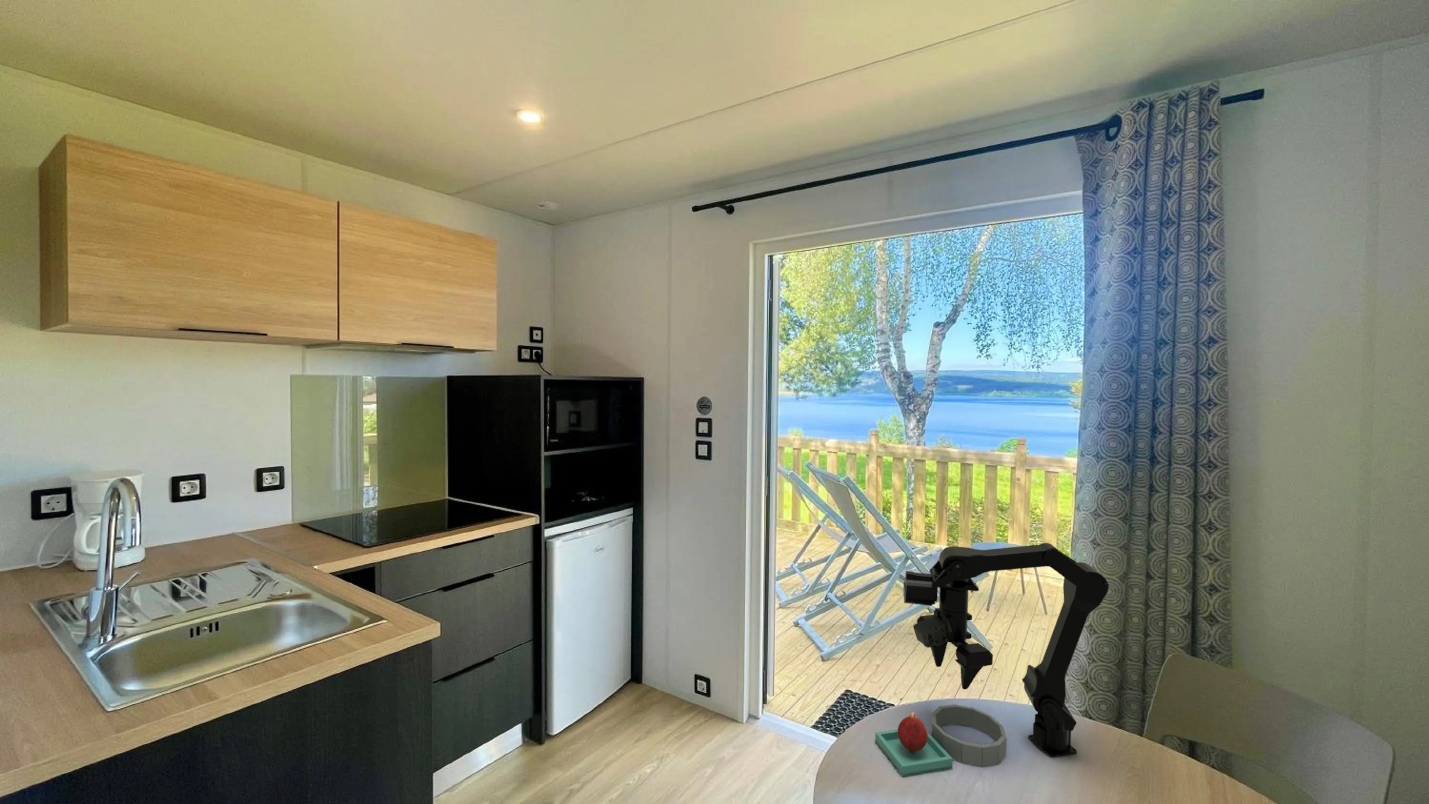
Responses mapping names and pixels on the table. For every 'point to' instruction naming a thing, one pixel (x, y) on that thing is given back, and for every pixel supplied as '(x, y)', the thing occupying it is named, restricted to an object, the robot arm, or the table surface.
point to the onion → (912, 733)
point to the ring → (964, 750)
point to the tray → (913, 755)
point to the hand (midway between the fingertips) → (951, 677)
